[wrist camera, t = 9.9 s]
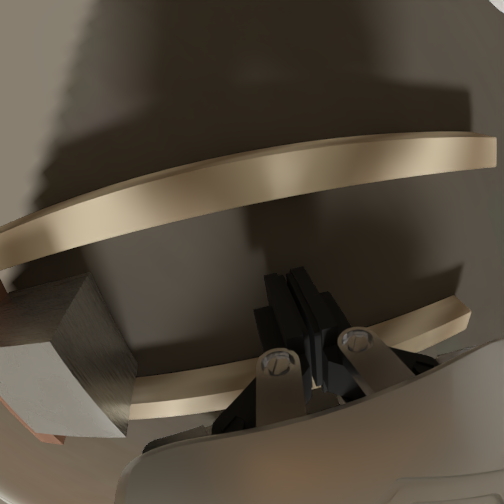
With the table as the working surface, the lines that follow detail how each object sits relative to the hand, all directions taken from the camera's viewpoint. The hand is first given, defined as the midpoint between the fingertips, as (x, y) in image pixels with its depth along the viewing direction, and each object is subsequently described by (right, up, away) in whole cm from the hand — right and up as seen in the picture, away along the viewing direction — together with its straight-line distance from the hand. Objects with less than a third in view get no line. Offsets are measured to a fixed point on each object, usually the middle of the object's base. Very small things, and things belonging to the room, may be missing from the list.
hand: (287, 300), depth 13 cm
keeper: (-11, -2, +1) cm, 12 cm away
